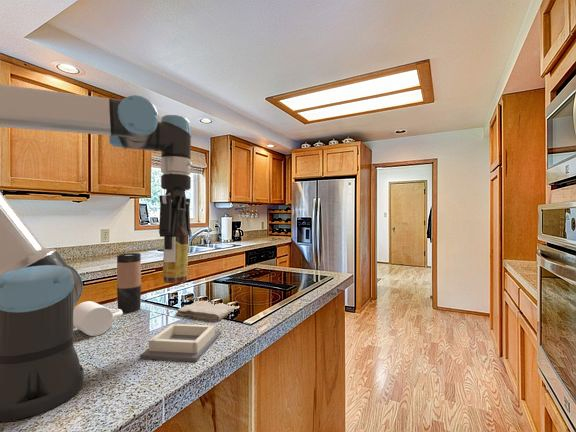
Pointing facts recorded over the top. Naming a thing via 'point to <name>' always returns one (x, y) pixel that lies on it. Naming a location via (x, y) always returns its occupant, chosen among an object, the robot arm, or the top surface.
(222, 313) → the washcloth
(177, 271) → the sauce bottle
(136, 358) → the top surface
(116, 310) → the mug
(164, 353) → the socket plate
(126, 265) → the travel mug
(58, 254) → the robot arm
